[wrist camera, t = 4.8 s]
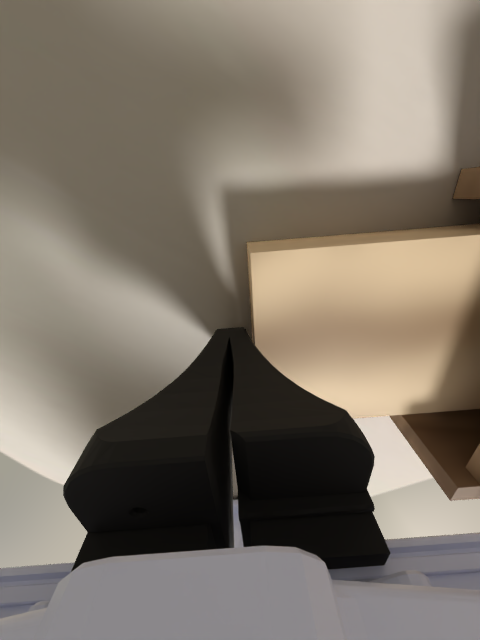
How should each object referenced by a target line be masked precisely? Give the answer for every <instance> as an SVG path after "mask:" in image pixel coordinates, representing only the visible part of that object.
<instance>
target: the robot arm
mask: <svg viewBox="0 0 480 640" xmlns="http://www.w3.org/2000/svg"><path fill="white" fill-rule="evenodd" d="M232 448H233V455H234V463H235V470H236V477H237V485H238V500H233V486H232ZM373 466H374V454H373V451H372V449H371V447H370V445H369V443H368V441H367V439H366V438H365V436H364V434H363V433H362V431H361V430H360V428H359V427H358V425H357V424H356V423H355V421H354V420H353V418H352V417H351V416H350V414H349V413H348V412H347V411H346V410H345V409H342V408H340V407H338V406H336V405H334V404H332V403H330V402H327V401H325V400H323V399H321V398H319V397H317V396H315V395H314V394H312V393H310V392H308V391H307V390H305V389H303V388H302V387H300V386H298V385H297V384H296V383H294V382H293V381H291V380H290V379H288V378H287V377H286V376H284V375H283V374H282V373H281V372H280V371H278V370H277V369H276V368H275V367H274V366H273V365H272V364H271V363H270V362H269V361H268V360H267V359H266V358H265V357H264V356H263V355H262V353H261V352H260V351H259V350H258V348H257V347H256V346H255V344H254V343H253V342H252V340H251V339H250V337H249V335H248V333H247V331H246V329H245V328H244V327H241V328H228V329H217V330H216V331H215V333H214V335H213V336H212V338H211V339H210V341H209V342H208V344H207V345H206V346H205V348H204V349H203V350H202V352H201V353H200V354H199V356H198V357H197V358H196V359H195V360H194V361H193V363H192V364H191V365H190V366H189V367H188V368H187V369H186V370H185V371H184V372H183V373H182V374H181V375H180V376H179V377H178V378H177V379H176V380H174V381H173V382H172V383H171V384H169V385H168V386H167V387H166V388H164V389H163V390H162V391H160V392H159V393H158V394H157V395H155V396H154V397H152V398H151V399H149V400H148V401H146V402H145V403H143V404H142V405H140V406H139V407H137V408H135V409H134V410H132V411H130V412H129V413H127V414H125V415H123V416H122V417H120V418H118V419H116V420H114V421H112V422H111V423H109V424H107V425H105V426H103V427H101V428H99V429H97V430H96V432H95V433H94V435H93V436H92V438H91V439H90V441H89V443H88V444H87V446H86V447H85V449H84V451H83V453H82V455H81V456H80V458H79V460H78V462H77V463H76V465H75V467H74V469H73V470H72V472H71V474H70V476H69V478H68V479H67V481H66V483H65V485H64V490H63V491H64V494H63V495H64V498H65V500H66V502H67V504H68V506H69V508H70V509H71V511H72V512H73V513H74V515H75V516H76V517H77V518H78V520H79V521H80V522H81V524H82V525H83V526H84V528H85V529H86V530H87V532H88V533H87V535H86V538H85V540H84V542H83V545H82V547H81V549H80V552H79V554H78V557H77V559H76V561H75V563H62V564H48V565H35V566H22V567H8V568H0V640H480V533H468V534H455V535H442V536H428V537H414V538H401V539H387V540H385V539H384V537H383V535H382V533H381V531H380V528H379V526H378V524H377V522H376V519H375V517H374V515H373V513H372V512H373V511H374V504H373V502H372V500H371V497H370V495H369V493H368V491H367V486H368V483H369V479H370V476H371V473H372V469H373Z"/></svg>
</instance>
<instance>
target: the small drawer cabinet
mask: <svg viewBox="0 0 480 640" xmlns="http://www.w3.org/2000/svg"><path fill="white" fill-rule="evenodd" d="M453 199H480V167H474V168H466V169H461V173H460V176H459V179H458V183H457V186H456V189H455V192H454V196H453ZM390 418H391V419H392V420H393V422H394V423H395V425H396V426H397V427H398V429H399V430H400V432H401V433H402V434H403V436H404V437H405V438H406V440H407V441H408V443H409V444H410V445H411V447H412V448H413V450H414V451H415V452H416V454H417V455H418V457H419V458H420V459H421V461H422V462H423V463H424V465H425V466H426V468H427V469H428V470H429V472H430V473H431V475H432V476H433V477H434V479H435V480H436V482H437V483H438V484H439V486H440V487H441V488H442V490H443V491H444V493H445V494H446V495H447V497H448V498H449V500H450V501H452V500H466V499H480V409H471V410H458V411H445V412H432V413H419V414H405V415H392V416H390Z"/></svg>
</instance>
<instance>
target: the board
mask: <svg viewBox="0 0 480 640" xmlns="http://www.w3.org/2000/svg"><path fill="white" fill-rule="evenodd" d="M247 256H248V273H249V291H250V308H251V326H252V342H253V343H254V344H255V346H256V347H257V348H258V350H259V351H260V352H261V353H262V355H263V356H264V357H265V358H266V359H267V360H268V361H269V362H270V363H271V364H272V365H273V366H274V367H275V368H276V369H277V370H278V371H280V372H281V373H282V374H283V375H284V376H286V377H287V378H288V379H290V380H291V381H293V382H294V383H296V384H297V385H298V386H300V387H302V388H303V389H305V390H307V391H308V392H310V393H312V394H314V395H315V396H317V397H319V398H321V399H323V400H325V401H327V402H330V403H332V404H334V405H336V406H338V407H340V408H342V409H345V410H346V411H347V412H348V413H349V414H350V416H351V417H352V418H366V417H379V416H392V415H405V414H419V413H432V412H445V411H458V410H471V409H480V224H470V225H457V226H445V227H432V228H420V229H407V230H395V231H382V232H370V233H357V234H345V235H332V236H320V237H307V238H295V239H282V240H270V241H257V242H247Z"/></svg>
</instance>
